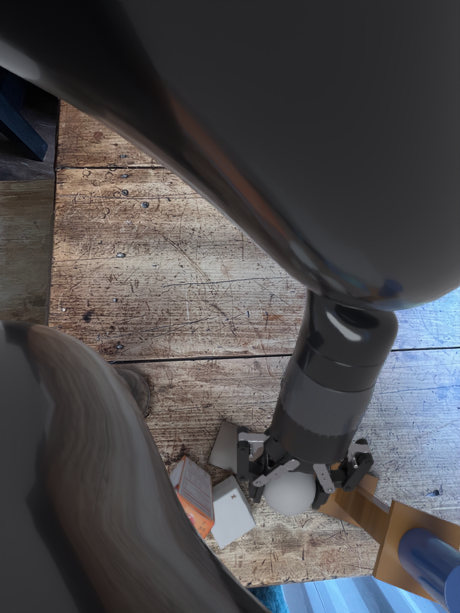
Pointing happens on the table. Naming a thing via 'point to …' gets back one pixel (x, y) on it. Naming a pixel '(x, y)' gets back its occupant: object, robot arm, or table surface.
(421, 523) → the stand
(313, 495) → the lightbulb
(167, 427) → the table surface
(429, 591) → the blue plastic cylinder
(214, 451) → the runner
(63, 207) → the table surface
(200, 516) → the cracker box
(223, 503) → the product box
